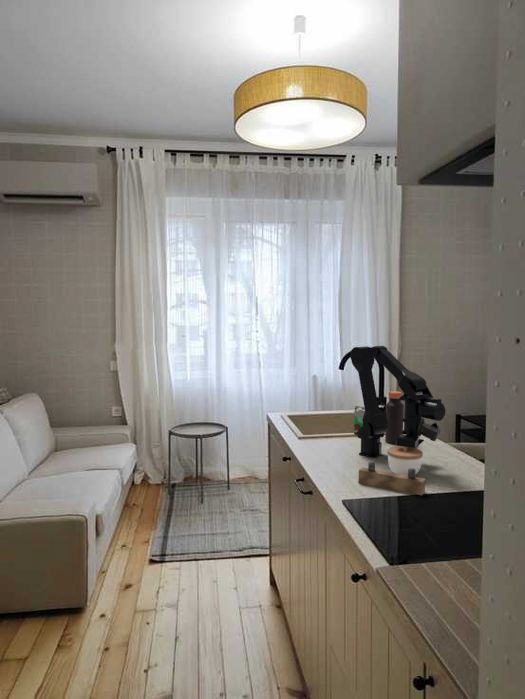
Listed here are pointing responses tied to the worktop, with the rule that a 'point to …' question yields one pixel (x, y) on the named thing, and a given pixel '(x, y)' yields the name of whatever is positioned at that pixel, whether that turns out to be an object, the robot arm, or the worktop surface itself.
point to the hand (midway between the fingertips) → (412, 461)
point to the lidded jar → (404, 459)
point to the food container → (358, 418)
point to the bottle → (394, 417)
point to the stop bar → (392, 480)
